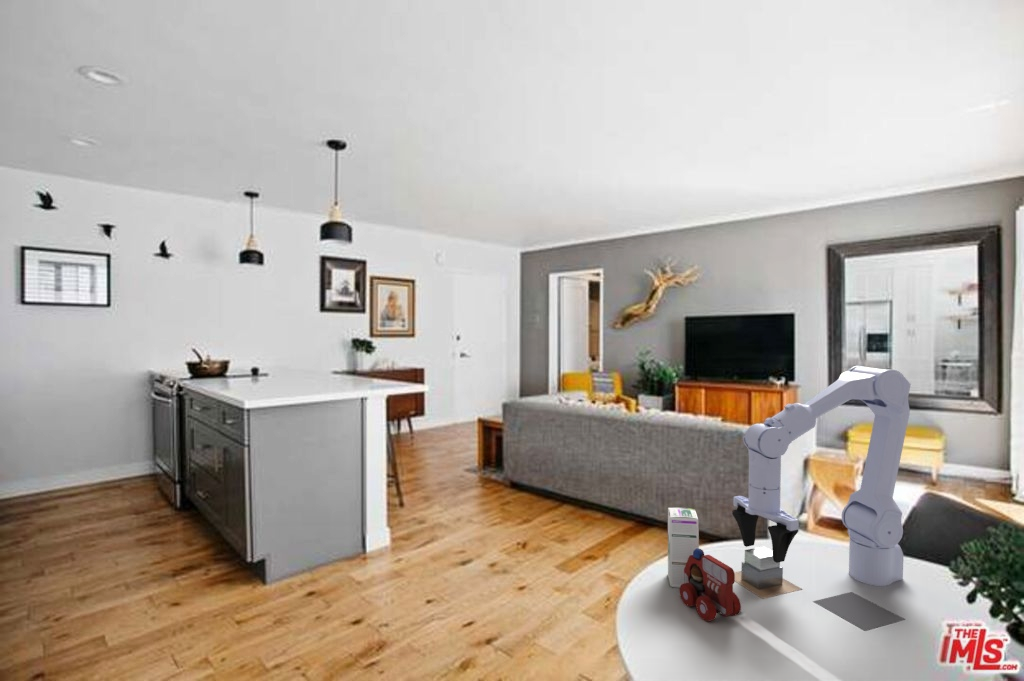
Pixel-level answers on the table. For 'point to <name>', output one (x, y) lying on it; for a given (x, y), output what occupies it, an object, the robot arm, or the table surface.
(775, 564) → the housing
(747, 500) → the robot arm
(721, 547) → the table surface
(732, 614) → the toy fire truck
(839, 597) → the stand
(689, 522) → the syrup box
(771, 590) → the stand
